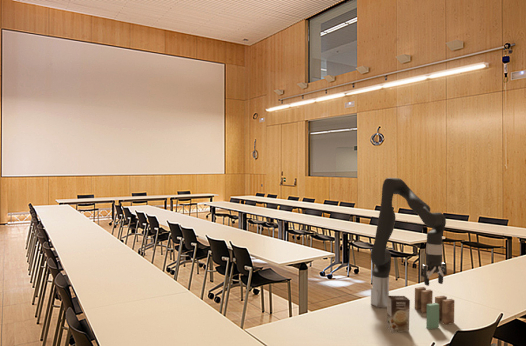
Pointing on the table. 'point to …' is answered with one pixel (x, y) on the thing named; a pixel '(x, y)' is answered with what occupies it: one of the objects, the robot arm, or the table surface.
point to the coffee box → (398, 313)
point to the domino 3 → (432, 316)
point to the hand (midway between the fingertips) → (433, 284)
